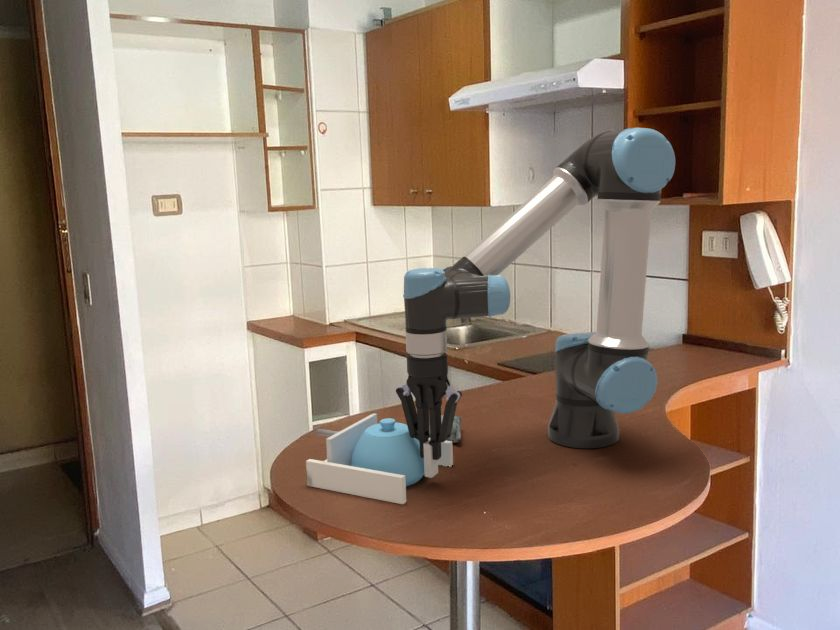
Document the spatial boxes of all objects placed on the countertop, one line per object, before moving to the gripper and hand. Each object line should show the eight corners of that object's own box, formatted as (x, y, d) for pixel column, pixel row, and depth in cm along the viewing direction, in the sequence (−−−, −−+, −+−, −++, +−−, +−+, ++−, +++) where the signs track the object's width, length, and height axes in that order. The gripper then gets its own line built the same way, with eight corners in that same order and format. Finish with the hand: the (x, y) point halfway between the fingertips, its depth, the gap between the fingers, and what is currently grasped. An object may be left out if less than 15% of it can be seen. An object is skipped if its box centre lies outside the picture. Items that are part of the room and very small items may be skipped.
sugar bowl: (366, 498, 141) (363, 437, 139) (341, 470, 155) (338, 415, 153) (441, 483, 147) (439, 424, 145) (410, 457, 160) (408, 404, 158)
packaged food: (421, 448, 166) (420, 426, 165) (423, 430, 177) (423, 409, 176) (462, 448, 165) (461, 426, 164) (461, 430, 177) (461, 409, 176)
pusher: (379, 455, 161) (377, 413, 160) (333, 484, 147) (330, 439, 145) (343, 449, 166) (340, 409, 164) (295, 477, 151) (292, 433, 149)
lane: (453, 465, 155) (452, 441, 154) (403, 504, 138) (401, 477, 137) (364, 450, 165) (363, 428, 164) (307, 485, 148) (305, 460, 147)
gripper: (467, 351, 142) (471, 472, 146) (406, 346, 148) (411, 462, 152) (449, 360, 135) (453, 487, 140) (385, 354, 142) (391, 476, 146)
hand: (431, 474), depth 146 cm, fingers closed
